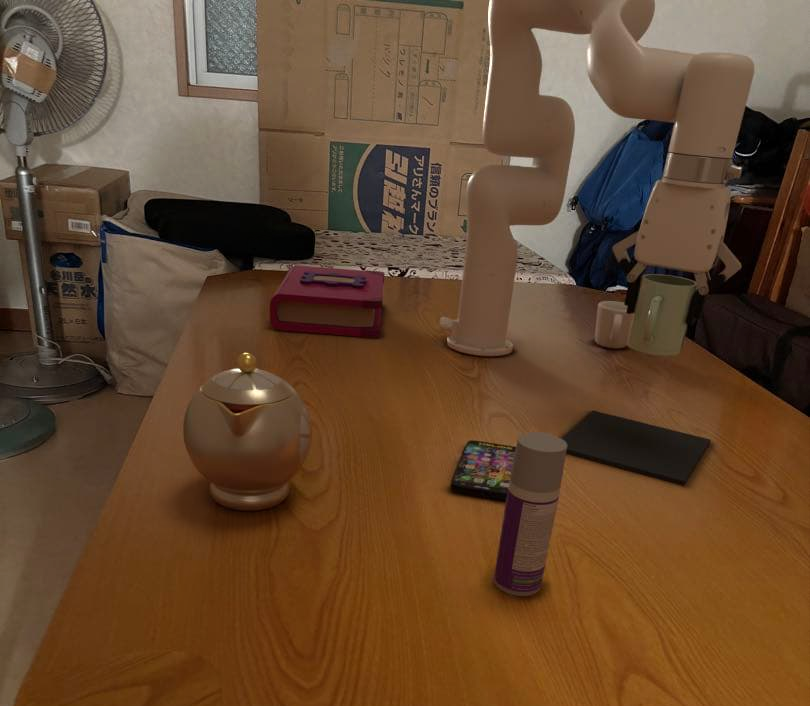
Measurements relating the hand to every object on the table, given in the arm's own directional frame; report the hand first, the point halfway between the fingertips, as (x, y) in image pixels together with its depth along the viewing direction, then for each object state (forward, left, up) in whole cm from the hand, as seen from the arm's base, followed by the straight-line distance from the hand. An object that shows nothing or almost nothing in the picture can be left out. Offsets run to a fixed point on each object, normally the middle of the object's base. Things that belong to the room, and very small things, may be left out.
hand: (660, 316), depth 103 cm
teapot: (-32, -46, -18) cm, 59 cm away
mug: (0, -1, -4) cm, 4 cm away
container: (+1, -46, -18) cm, 50 cm away
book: (-70, +26, -18) cm, 77 cm away
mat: (+1, -2, -18) cm, 18 cm away
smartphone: (-12, -24, -18) cm, 32 cm away
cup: (-17, +48, -18) cm, 54 cm away
